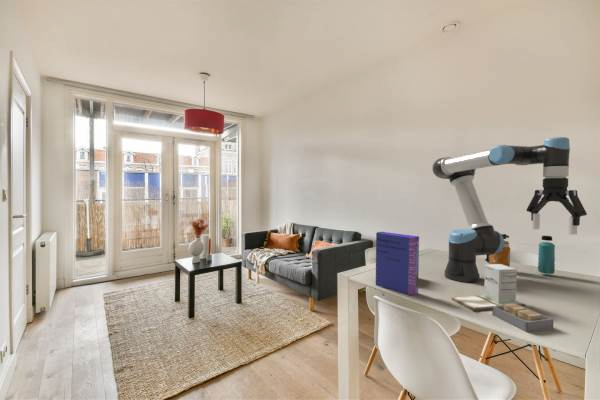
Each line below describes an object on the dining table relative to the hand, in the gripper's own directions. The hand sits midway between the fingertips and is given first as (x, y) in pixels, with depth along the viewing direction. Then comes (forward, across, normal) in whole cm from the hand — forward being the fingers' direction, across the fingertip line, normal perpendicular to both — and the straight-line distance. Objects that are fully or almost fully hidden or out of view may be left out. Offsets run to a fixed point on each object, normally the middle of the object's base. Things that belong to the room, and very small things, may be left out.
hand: (553, 231), depth 113 cm
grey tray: (+27, -15, +32) cm, 44 cm away
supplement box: (+25, 0, +24) cm, 35 cm away
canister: (+27, +37, -13) cm, 48 cm away
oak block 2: (+26, -18, +32) cm, 45 cm away
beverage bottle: (+27, +25, -30) cm, 47 cm away
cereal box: (+27, +22, +55) cm, 65 cm away
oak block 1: (+26, -12, +32) cm, 43 cm away
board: (+27, 0, +30) cm, 40 cm away
